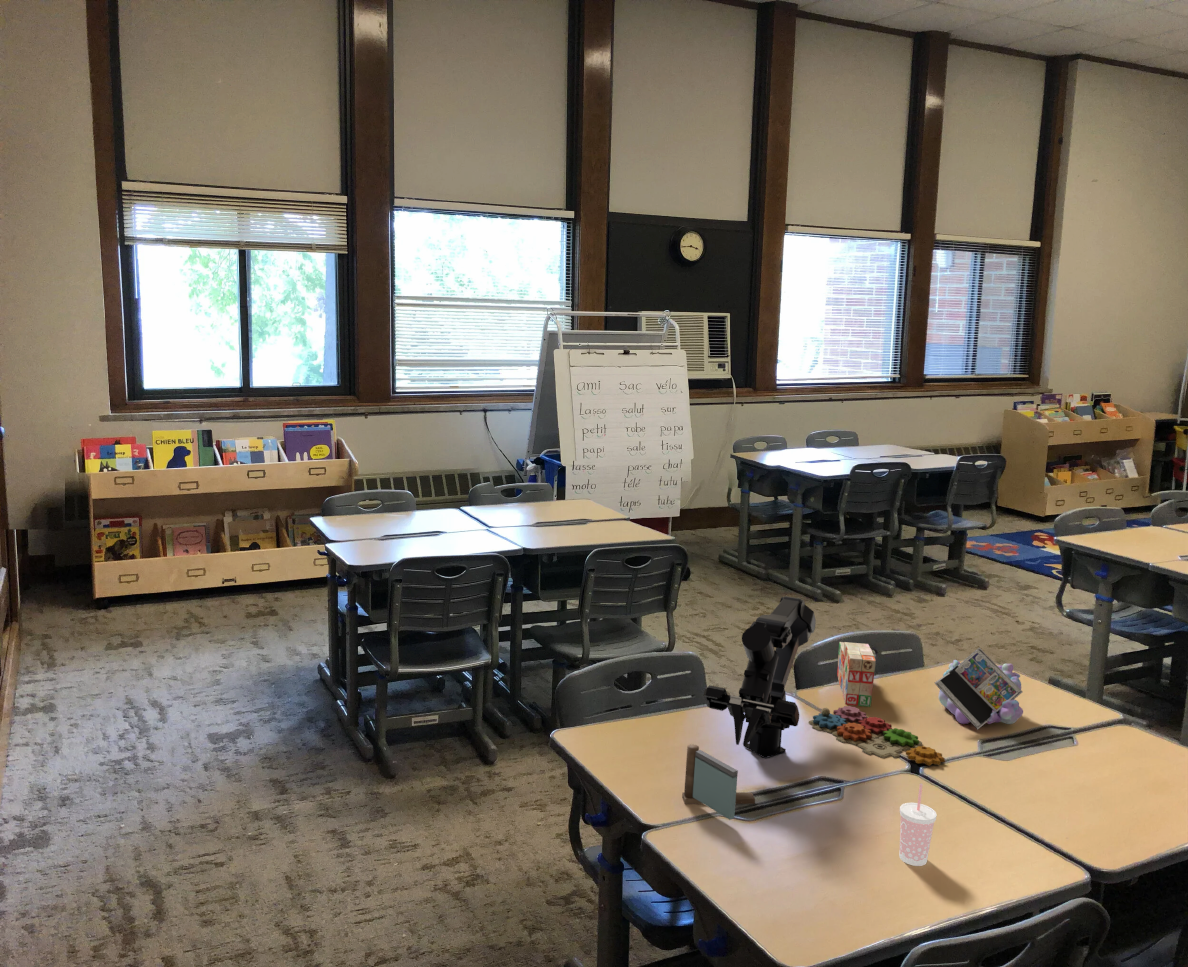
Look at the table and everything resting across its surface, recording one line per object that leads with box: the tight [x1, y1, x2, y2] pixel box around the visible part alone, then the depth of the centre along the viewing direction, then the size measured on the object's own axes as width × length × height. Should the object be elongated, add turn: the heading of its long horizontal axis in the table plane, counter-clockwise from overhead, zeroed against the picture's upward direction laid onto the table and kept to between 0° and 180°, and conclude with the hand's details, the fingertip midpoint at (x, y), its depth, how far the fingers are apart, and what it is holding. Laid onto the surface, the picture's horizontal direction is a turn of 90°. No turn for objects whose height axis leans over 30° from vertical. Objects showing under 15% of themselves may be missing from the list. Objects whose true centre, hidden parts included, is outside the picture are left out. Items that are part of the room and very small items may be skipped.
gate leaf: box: [693, 749, 739, 821], centre depth 181 cm, size 1×10×9 cm, turn 37°
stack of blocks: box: [836, 641, 876, 708], centre depth 249 cm, size 21×6×12 cm, turn 172°
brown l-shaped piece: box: [681, 743, 756, 805], centre depth 187 cm, size 3×14×11 cm, turn 95°
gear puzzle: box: [808, 705, 946, 767], centre depth 219 cm, size 31×16×4 cm, turn 35°
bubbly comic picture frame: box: [934, 647, 1024, 730], centre depth 234 cm, size 20×22×18 cm
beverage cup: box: [899, 783, 938, 867], centre depth 169 cm, size 6×6×14 cm
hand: (740, 745), depth 191 cm, fingers closed
